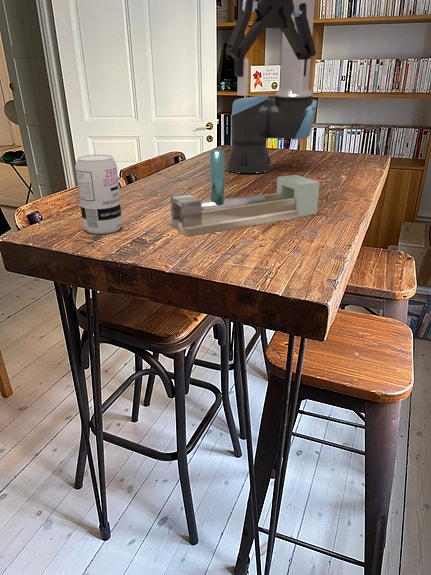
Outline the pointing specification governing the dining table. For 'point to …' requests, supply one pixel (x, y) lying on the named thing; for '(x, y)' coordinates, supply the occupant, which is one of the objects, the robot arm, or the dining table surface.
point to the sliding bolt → (218, 187)
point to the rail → (228, 214)
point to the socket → (300, 193)
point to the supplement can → (99, 193)
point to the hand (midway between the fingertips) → (270, 94)
